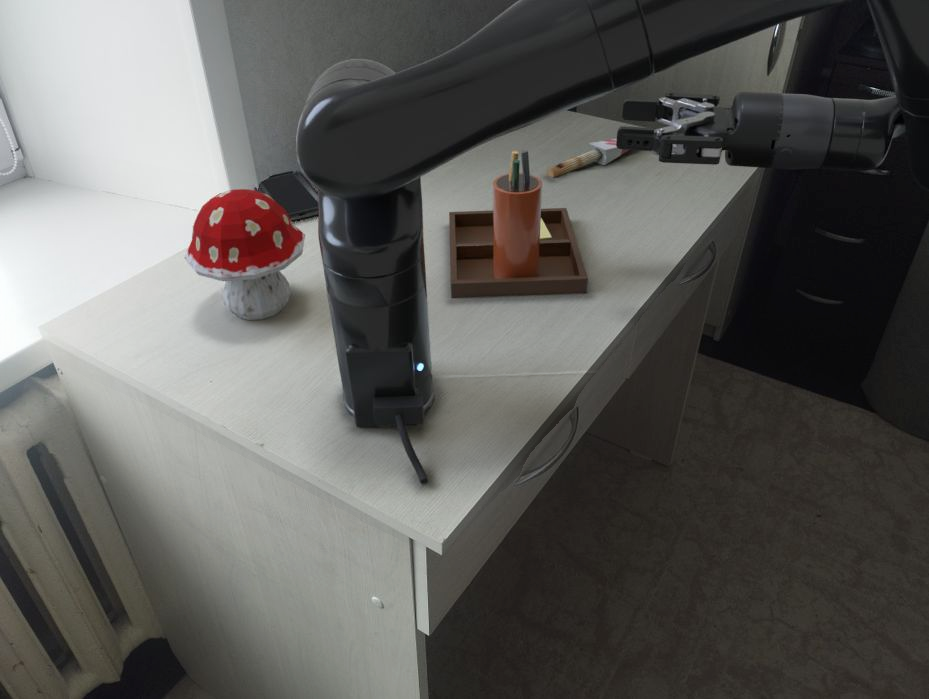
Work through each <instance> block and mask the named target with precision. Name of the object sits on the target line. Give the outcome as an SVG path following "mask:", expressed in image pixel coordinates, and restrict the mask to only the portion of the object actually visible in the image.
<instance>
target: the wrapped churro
mask: <svg viewBox="0 0 929 699" xmlns="http://www.w3.org/2000/svg"><path fill="white" fill-rule="evenodd" d="M616 141H617V138H611V139H605V140H599V141H594V142H589V143H588V146H589V149H590V150H589V151H587V152H584V153H583V154H580V155H578V156H575V157H572V158H570V159H567V160H565V161H563V162H560V163H558V164H556V165H553V166H549V167H548V168H547V169H546V175H547V176H549V177H550V178H556V177H559V176H562V175H564V174H568V173H570V172H572V171H575V170H578V169H579V168H582V167H583V166H587V165H588V164H591V163H594V162H595V163H597V164H598V165H599V164H600V165H601V166H605V165H607V164H609V163H610V162H612V161H614V160H615V159H617V158H618V157H620V156H622V155H623V154H625V153H627V152H628V151H629V150H626V149H618V148H617V146H616Z"/></svg>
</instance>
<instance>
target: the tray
mask: <svg viewBox="0 0 929 699" xmlns="http://www.w3.org/2000/svg"><path fill="white" fill-rule="evenodd" d="M541 218H542V220H543V222H544V224H545V226H546V227H547V229H548V231H549V233H550V235H551V236H552V240H567V239H569V240H570V251H569V255H564V256H539V274H538V277H529V278H501V279H495V278H494V276H493V258H479V259H457V248H456V244H457V243H482V242H493V209H492V210H469V211H468V210H467V211H464V210H463V211H449V212H448V221H449V222H448V224H449V254H450V255H449V261H450V263H449V264H450V267H449V268H450V293H451V296H450V297H451V299H454V298H456V299H457V298H458V299H459V298H481V297H482V298H483V297H484V298H485V297H487V298H489V297H510V296H511V297H512V296H537V295H539V296H541V295H543V296H544V295H568V294H569V295H570V294H571V295H572V294H587V290H588V276H587V272H586V268H585V266H584V261H583V259H582V256H581V252H580V248H579V245H578V241H577V239H576V235H575V232H574V228H573V225H572V222H571V219H570V215H569V212H568V209H567V207H555V208H551V207H550V208H541Z"/></svg>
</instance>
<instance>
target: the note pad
mask: <svg viewBox="0 0 929 699" xmlns="http://www.w3.org/2000/svg"><path fill="white" fill-rule="evenodd" d="M540 240H552V236H551V235H550V233H549V231H548V229H547V227H546V226H545V224H544V222H543V220H542V218H541V224H540Z"/></svg>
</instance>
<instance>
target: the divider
mask: <svg viewBox="0 0 929 699" xmlns="http://www.w3.org/2000/svg"><path fill="white" fill-rule="evenodd" d="M456 248H457V259H479V258H493V242H482V243H457V244H456ZM569 251H570V240H569V239H567V240H540V249H539V256H564V255H569Z"/></svg>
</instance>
